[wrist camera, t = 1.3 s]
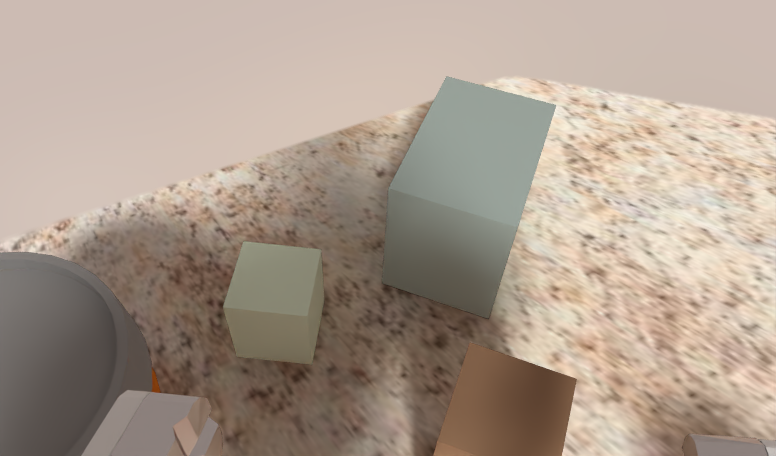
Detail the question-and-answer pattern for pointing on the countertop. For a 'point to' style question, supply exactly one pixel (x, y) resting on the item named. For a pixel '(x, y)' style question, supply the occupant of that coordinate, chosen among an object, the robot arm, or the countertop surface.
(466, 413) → the pillar
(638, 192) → the countertop surface
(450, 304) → the base block
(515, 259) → the countertop surface
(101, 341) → the reusable coffee cup
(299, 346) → the cube
